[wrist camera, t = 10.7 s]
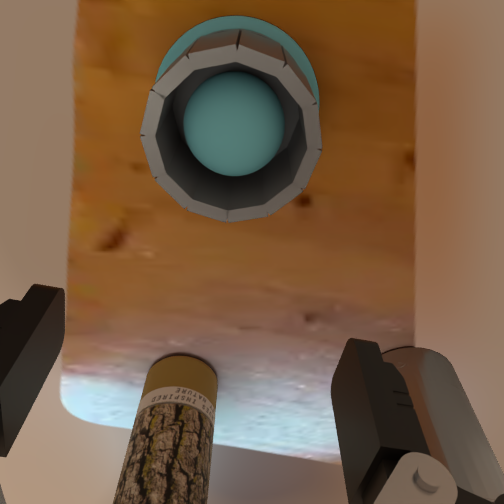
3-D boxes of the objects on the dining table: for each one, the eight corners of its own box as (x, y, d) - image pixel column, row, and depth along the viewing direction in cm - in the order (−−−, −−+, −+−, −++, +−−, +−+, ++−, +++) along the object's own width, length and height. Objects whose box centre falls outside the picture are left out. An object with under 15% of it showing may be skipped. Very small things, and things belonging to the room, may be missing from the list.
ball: (301, 117, 31) (309, 147, 26) (232, 172, 33) (227, 211, 28) (241, 40, 29) (236, 58, 24) (171, 105, 31) (153, 134, 26)
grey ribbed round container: (351, 115, 32) (373, 153, 26) (230, 209, 36) (224, 262, 30) (244, -28, 28) (241, -23, 22) (120, 96, 32) (86, 130, 26)
